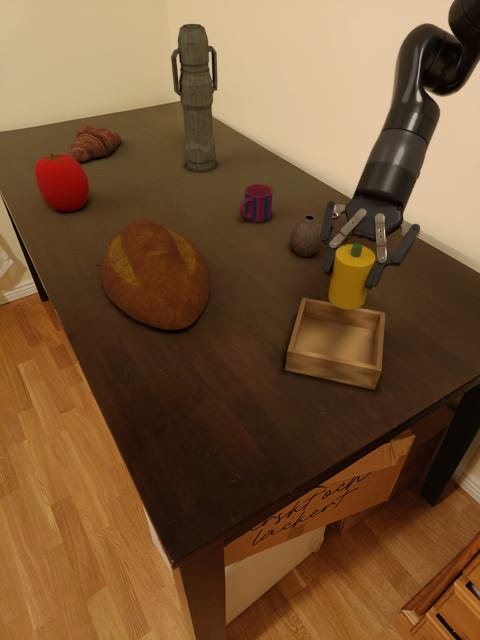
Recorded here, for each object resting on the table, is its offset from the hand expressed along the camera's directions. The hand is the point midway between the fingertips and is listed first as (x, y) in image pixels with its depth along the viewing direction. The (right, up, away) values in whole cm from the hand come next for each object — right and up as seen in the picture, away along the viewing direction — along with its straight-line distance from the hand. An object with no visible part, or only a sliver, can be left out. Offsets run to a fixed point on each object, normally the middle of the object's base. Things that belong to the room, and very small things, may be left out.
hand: (347, 281), depth 62 cm
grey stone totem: (-27, +41, +66) cm, 83 cm away
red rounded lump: (-60, +23, +48) cm, 80 cm away
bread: (-33, +2, +25) cm, 41 cm away
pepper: (+1, -2, +4) cm, 5 cm away
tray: (+1, -11, +12) cm, 16 cm away
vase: (-1, +10, +34) cm, 35 cm away
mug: (-12, +20, +44) cm, 50 cm away
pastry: (-61, +48, +73) cm, 107 cm away
